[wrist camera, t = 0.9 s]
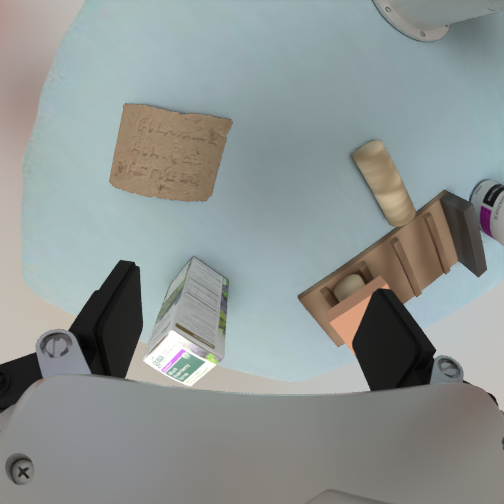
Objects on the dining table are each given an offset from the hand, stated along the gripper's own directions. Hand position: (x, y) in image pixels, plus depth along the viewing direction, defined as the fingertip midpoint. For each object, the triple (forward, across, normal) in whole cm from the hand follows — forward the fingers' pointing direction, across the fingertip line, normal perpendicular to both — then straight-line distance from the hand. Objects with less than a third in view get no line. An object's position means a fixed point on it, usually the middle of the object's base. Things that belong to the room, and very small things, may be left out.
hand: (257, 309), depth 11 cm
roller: (+24, -16, -3) cm, 29 cm away
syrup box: (+24, +4, +14) cm, 28 cm away
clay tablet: (+25, +9, -2) cm, 26 cm away
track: (+24, -23, +9) cm, 34 cm away
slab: (+18, -18, +14) cm, 29 cm away
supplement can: (+24, -37, -4) cm, 45 cm away
